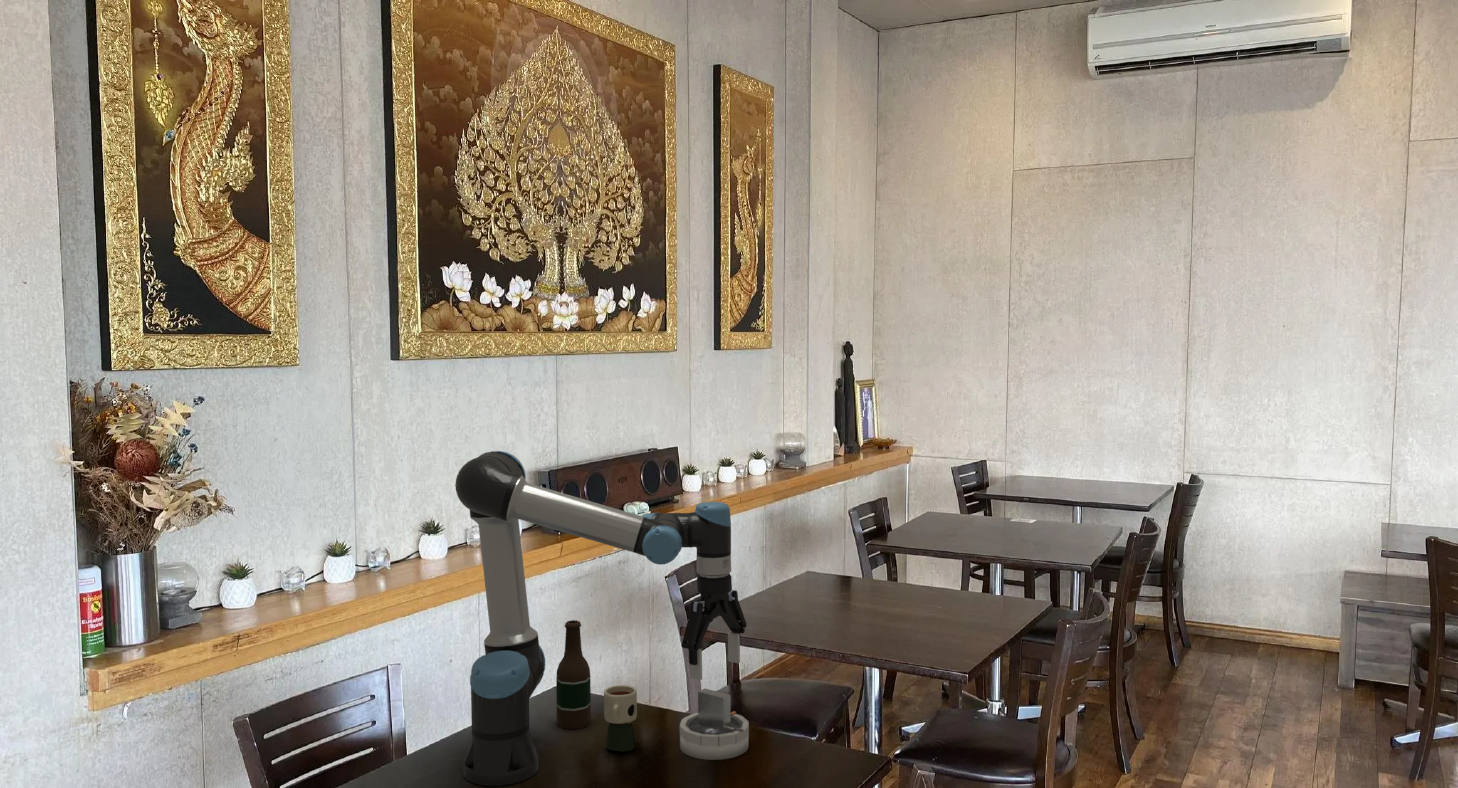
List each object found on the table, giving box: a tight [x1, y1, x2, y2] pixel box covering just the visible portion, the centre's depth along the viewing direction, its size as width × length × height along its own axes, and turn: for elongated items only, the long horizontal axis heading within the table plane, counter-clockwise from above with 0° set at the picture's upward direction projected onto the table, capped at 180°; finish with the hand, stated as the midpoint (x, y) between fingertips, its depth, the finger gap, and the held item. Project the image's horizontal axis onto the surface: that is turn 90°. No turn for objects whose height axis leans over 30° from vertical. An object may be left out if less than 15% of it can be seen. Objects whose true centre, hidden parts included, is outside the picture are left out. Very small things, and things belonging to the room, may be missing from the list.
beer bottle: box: [555, 619, 592, 730], centre depth 238 cm, size 8×8×24 cm
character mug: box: [603, 684, 638, 753], centre depth 224 cm, size 11×7×13 cm, turn 173°
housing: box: [679, 710, 750, 761], centre depth 226 cm, size 15×15×5 cm
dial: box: [689, 688, 739, 735], centre depth 226 cm, size 11×11×8 cm
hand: (715, 670), depth 225 cm, fingers open, 13 cm apart
